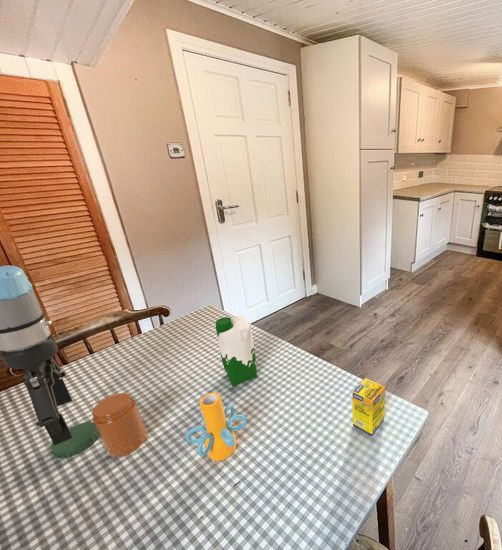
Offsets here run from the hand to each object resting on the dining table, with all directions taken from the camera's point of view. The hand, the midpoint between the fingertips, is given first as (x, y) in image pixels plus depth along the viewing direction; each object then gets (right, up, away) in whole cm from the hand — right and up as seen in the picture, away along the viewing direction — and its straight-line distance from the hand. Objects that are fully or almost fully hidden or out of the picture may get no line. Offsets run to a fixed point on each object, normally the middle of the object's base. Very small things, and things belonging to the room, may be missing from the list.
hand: (64, 420), depth 69 cm
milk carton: (+31, +2, +24) cm, 39 cm away
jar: (+12, -6, +3) cm, 14 cm away
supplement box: (+69, -4, +8) cm, 70 cm away
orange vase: (+36, -7, +1) cm, 36 cm away
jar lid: (+1, -5, +2) cm, 5 cm away
